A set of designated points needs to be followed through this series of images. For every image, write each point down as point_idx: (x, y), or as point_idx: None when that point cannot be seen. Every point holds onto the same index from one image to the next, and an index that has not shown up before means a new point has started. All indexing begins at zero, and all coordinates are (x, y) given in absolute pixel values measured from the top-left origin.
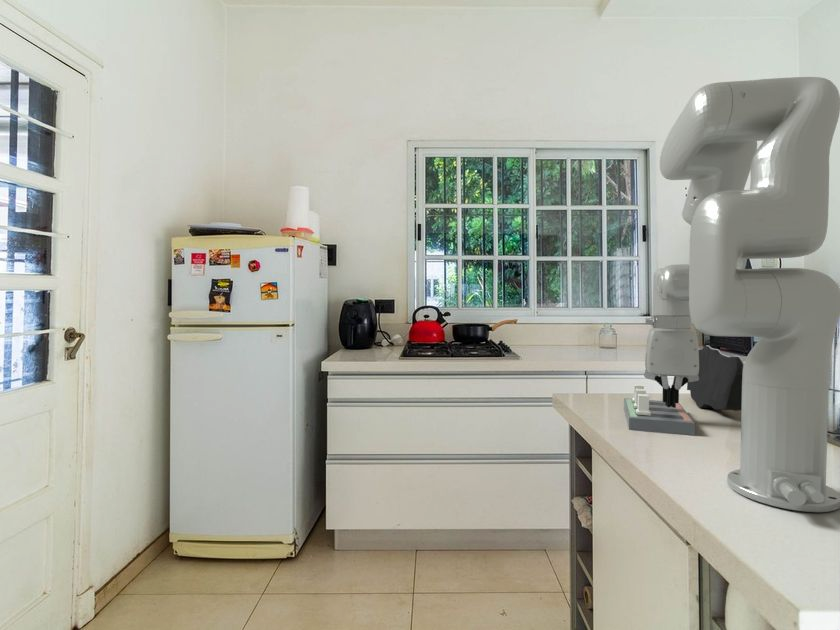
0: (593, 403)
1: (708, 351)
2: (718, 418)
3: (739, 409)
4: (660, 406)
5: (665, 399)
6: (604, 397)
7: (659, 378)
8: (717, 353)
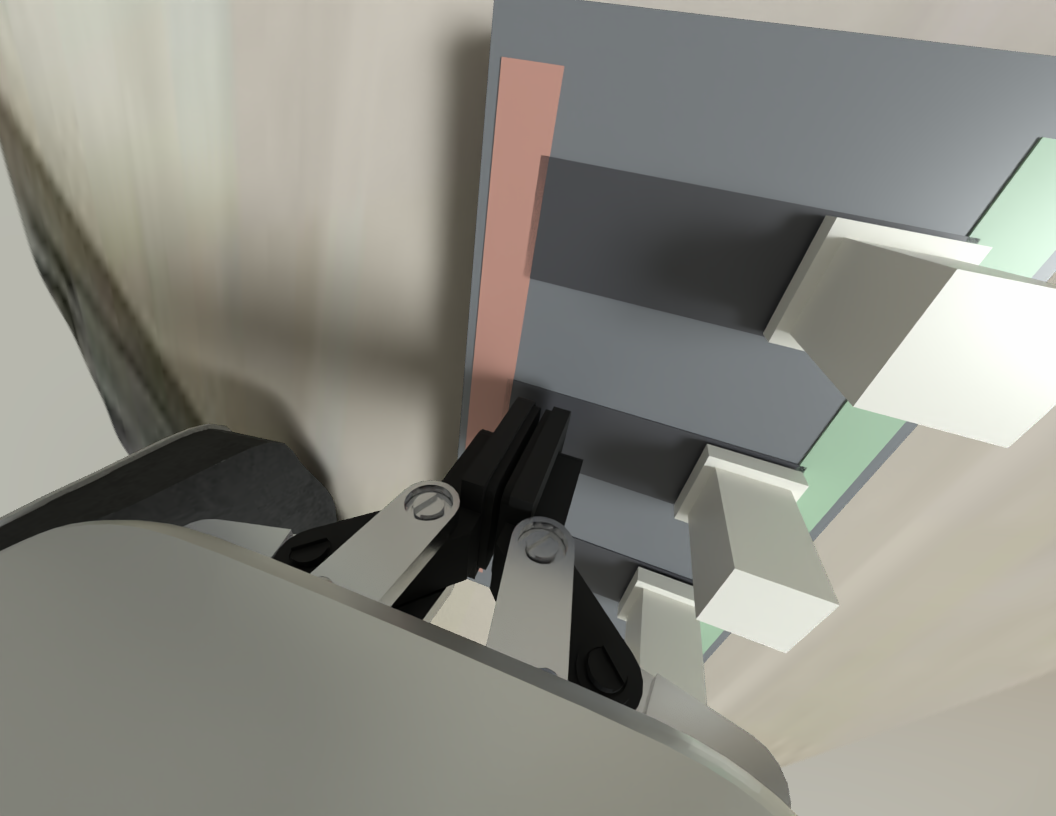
0: (812, 701)
1: None
2: (343, 445)
3: (234, 432)
4: (568, 512)
5: (567, 463)
6: None
7: (583, 671)
8: None
